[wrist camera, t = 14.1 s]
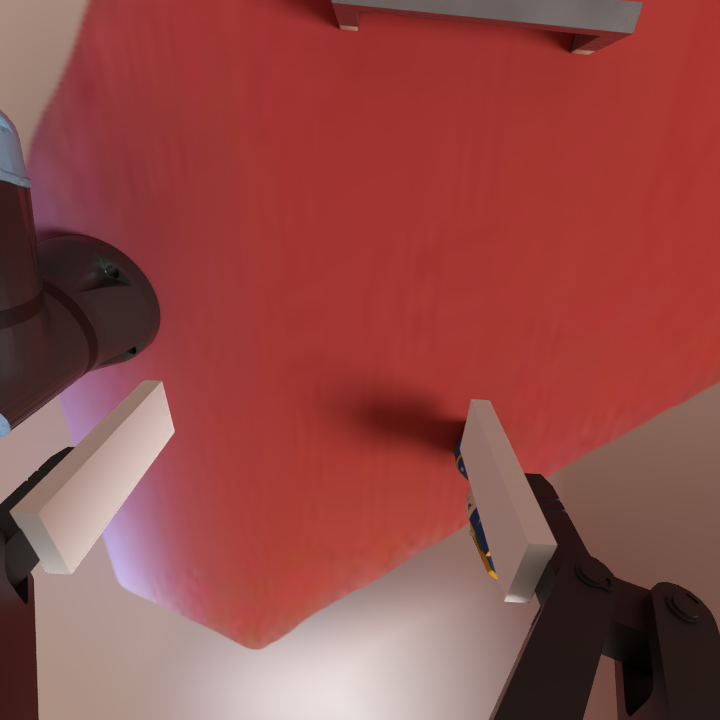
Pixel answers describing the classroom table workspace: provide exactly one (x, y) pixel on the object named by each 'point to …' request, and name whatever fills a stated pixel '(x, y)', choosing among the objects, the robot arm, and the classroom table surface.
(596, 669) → the robot arm
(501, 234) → the classroom table surface
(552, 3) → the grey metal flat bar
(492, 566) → the figurine
